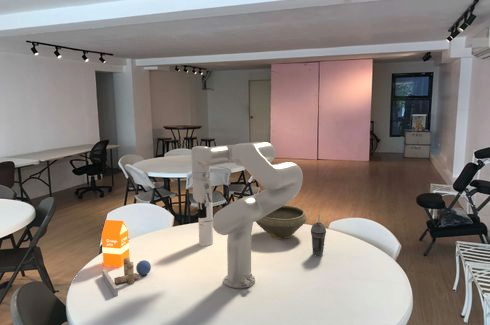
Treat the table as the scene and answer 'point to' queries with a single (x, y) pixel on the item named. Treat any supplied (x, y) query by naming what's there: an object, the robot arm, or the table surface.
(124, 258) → the pin
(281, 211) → the bowl
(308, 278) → the table surface
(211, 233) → the cylindrical container
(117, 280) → the pin front
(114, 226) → the orange juice
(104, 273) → the rail
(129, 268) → the pin
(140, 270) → the ball
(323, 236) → the beverage cup
